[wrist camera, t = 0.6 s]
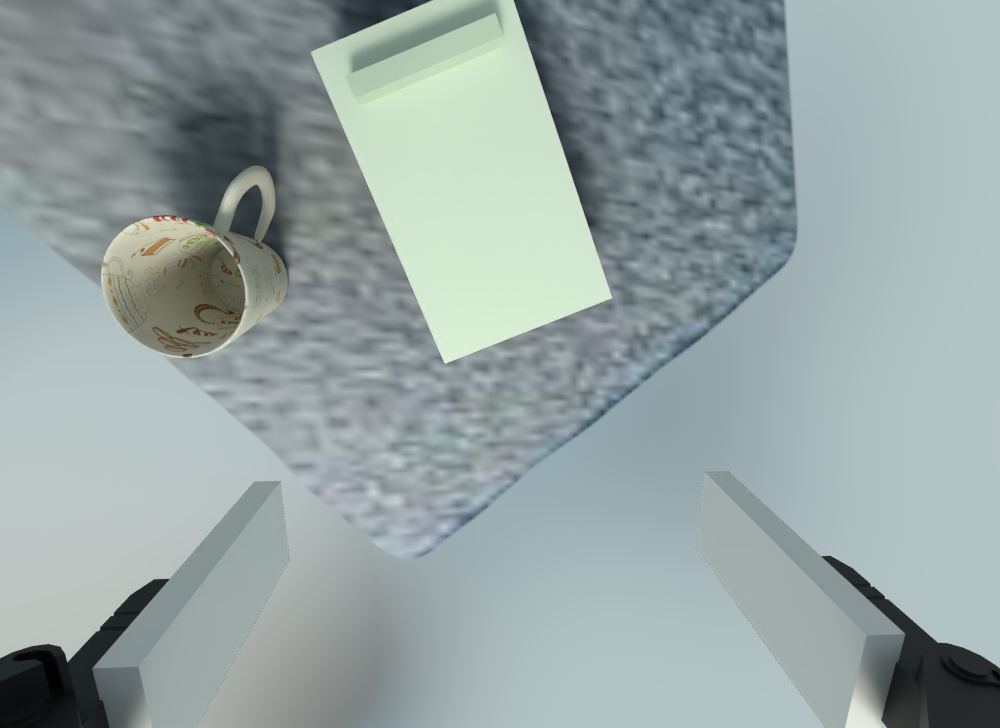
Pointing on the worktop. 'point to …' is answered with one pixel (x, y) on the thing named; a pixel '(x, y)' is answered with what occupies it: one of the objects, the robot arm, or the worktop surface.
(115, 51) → the worktop surface
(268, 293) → the mug
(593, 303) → the lid
